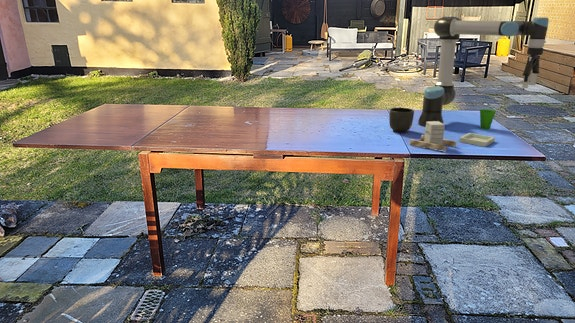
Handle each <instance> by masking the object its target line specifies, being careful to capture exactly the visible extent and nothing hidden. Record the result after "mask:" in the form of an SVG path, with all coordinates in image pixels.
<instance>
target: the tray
mask: <svg viewBox="0 0 575 323" xmlns="http://www.w3.org/2000/svg"><path fill="white" fill-rule="evenodd" d="M495 140H496V137H494V136H489V135H483V134H479V133H472V132H468V133H466V134H464V135H462V136H460V137H459V139H458V143H462V144H468V145H472V144H473V145H472V146H477V145H478V146H479V147H483V148H486V147H487V146H488V147H489V145H491V144H493V143H494V142H495Z"/></svg>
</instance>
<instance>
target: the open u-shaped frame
mask: <svg viewBox="0 0 575 323" xmlns="http://www.w3.org/2000/svg"><path fill="white" fill-rule="evenodd" d="M424 137H425V134H421V136H420V139H412V138H411V139H410V141H409V143H410V144H409V145H410V146H411V145H412V147H416V146H418V147H417V148H421V147H425V148H424V149H426V148H431V149H437V150H443V151H446V152H447V148H448V147H450V146H453V147H452V148H456V147H457V140H456V141H455V140H451V139H447V138H443V145H438V144H433V143H428V142H424ZM445 145H448V146H445ZM455 146H456V147H455Z"/></svg>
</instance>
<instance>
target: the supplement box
mask: <svg viewBox="0 0 575 323" xmlns="http://www.w3.org/2000/svg"><path fill="white" fill-rule="evenodd" d="M445 126H446V124H445V123H444V122H443V123H441V122H439V121H428V122H426V126H425V129H424V135H425V137H424V141H423V142H428V143H433V144H438V145H442V144H443V139H444V136H445V128H446V127H445Z"/></svg>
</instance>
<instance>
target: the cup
mask: <svg viewBox="0 0 575 323" xmlns="http://www.w3.org/2000/svg"><path fill="white" fill-rule="evenodd" d="M496 113H497V111H496V110H493V109H485V108H484V109H479V116H480V117H479V118H480V119H479V123H480V129H482V130H486V131H488V130H490V129H491V125H492V124H493V120H494V117H495V114H496Z"/></svg>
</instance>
